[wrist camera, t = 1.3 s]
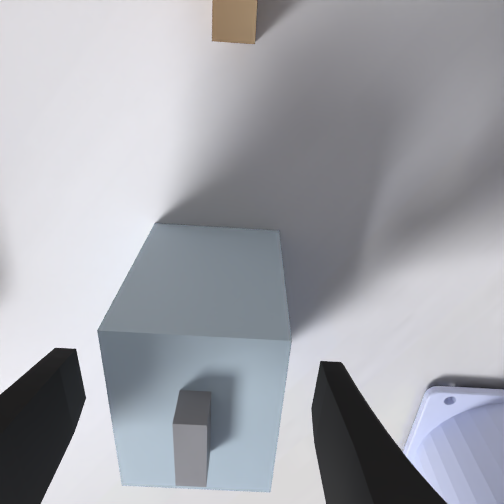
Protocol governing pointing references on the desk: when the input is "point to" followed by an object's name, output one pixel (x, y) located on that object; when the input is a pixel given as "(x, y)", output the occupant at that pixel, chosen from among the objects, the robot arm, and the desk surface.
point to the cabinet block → (199, 359)
